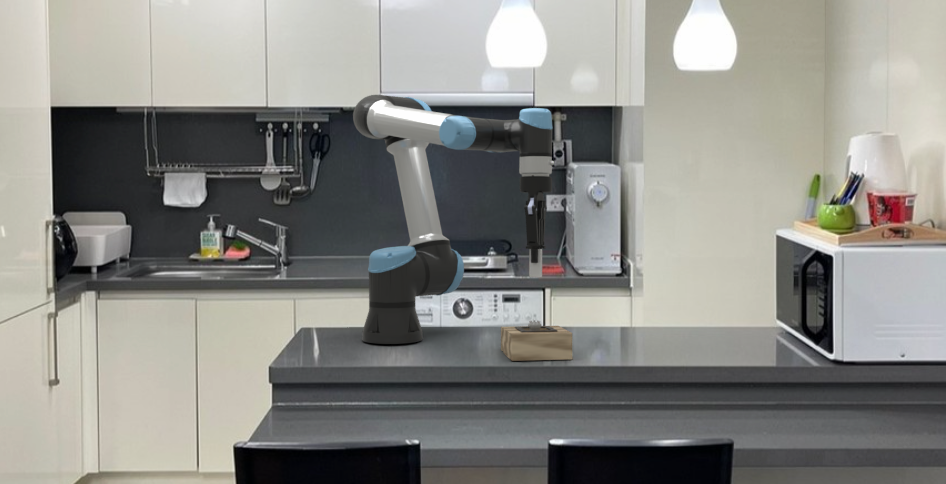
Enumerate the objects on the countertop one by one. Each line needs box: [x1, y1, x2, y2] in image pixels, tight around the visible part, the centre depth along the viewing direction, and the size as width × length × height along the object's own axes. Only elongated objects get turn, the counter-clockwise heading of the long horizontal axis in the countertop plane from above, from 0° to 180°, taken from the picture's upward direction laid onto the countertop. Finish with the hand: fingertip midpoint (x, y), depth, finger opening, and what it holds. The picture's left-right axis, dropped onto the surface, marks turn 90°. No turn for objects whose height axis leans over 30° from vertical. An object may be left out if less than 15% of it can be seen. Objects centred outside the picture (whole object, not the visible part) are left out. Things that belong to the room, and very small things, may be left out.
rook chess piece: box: [527, 319, 543, 330], centre depth 225 cm, size 4×4×8 cm
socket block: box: [500, 325, 573, 362], centre depth 225 cm, size 14×14×6 cm
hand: (535, 276), depth 224 cm, fingers closed
